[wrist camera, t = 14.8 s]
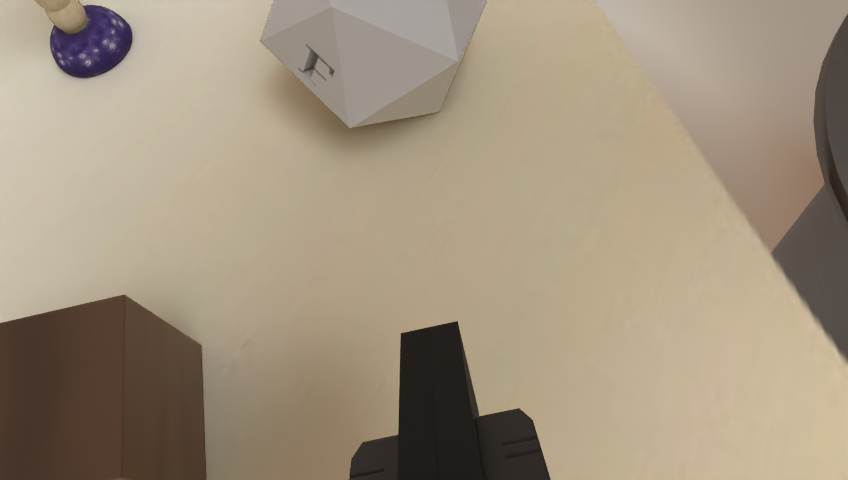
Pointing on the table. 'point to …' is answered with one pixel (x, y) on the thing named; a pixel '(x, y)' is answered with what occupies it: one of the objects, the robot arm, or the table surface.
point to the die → (373, 52)
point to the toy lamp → (86, 36)
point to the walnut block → (100, 396)
